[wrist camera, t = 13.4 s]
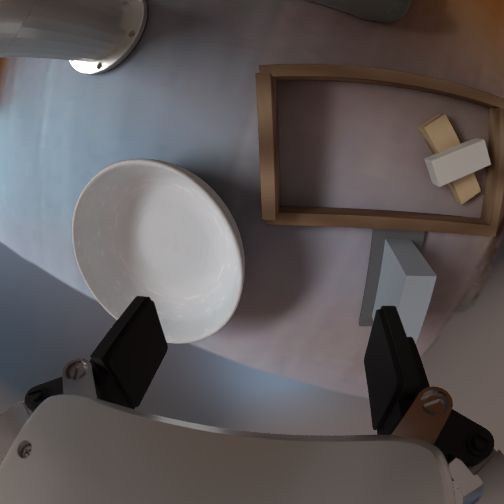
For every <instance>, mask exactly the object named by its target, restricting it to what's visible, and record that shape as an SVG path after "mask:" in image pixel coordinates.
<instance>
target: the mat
mask: <svg viewBox="0 0 504 504" xmlns="http://www.w3.org/2000/svg"><path fill="white" fill-rule="evenodd" d="M424 235H425V231H413V230H395V229H376V228H373V233H372V242H371V251H370V258H369V266H368V272H367V279H366V285H365V291H364V297H363V303H362V308H361V314H360V319H359V326H373V318H372V314H373V309H374V304H375V299H376V294H377V289H378V284H379V278H380V272H381V266H382V260H383V253H384V246H385V239H401V240H411V241H412V242H413V244H414V245H415V246H416V248H417V249H418V250H419V252H420V253H421V252H422V247H423V241H424Z"/></svg>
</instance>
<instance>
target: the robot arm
mask: <svg viewBox="0 0 504 504" xmlns="http://www.w3.org/2000/svg"><path fill="white" fill-rule="evenodd" d="M147 14H148V12H147V4H146V1H145V0H0V57H29V58H49V59H62V60H69V62H70V64H71V66H72V67H73V68H74V69H75V70H77V71H78V72H80V73H83V74H91V75H92V74H100V73H103V72H106V71H108V70H110V69H112V68H114V67H115V66H116V65H118V64H119V63H121V62H122V61H123V60H124V59H125V58H126V57H127V56H128V55H129V53H130V52H131V51H132V50H133V49H134V47H135V46H136V44H137V43H138V41H139V39H140V37H141V35H142V33H143V31H144V28H145V25H146V21H147ZM167 348H168V347H167V342H166V339H165V336H164V333H163V330H162V326H161V323H160V320H159V317H158V313H157V310H156V307H155V303H154V301H152V300H151V299H150V297H145V296H136V297H135V298H134V300H133V301H132V302H131V303H130V305H129V306H128V307H127V308H126V310H125V311H124V312H123V314H122V315H121V316H120V317H119V319H118V320H117V321H116V323H115V324H114V325H113V327H112V328H111V329H110V330H109V332H108V333H107V334H106V336H105V337H104V339H103V340H102V341H101V342H100V344H99V345H98V346H97V348H96V349H95V350H94V352H93V353H92V355H91V358H92V359H91V360H90V361H88V360H86V359H82V358H79V359H75V360H72V361H70V362H69V363H68V364H67V365H66V366H65V367H64V369H63V373H62V377H60V378H57V379H54V380H52V381H49V382H46V383H43V384H40V385H38V386H35V387H33V388H31V389H30V390H29V391H28V393H27V394H26V396H25V402H23V401H22V400H21V401H20V402H18V403H16V404H15V405H13V406H12V407H10V408H9V409H7V410H6V411H4V412H3V413H1V414H0V454H1V457H2V460H3V462H2V464H1V466H0V504H456V501H455V492H454V486H453V481H455V482H456V483H457V484H458V486H459V487H458V490H459V491H460V492H461V494H462V496H463V504H504V454H503V453H502V452H501V451H500V450H498V451H496V450H495V449H494V439H493V436H492V434H491V433H490V432H489V431H488V430H487V429H485V428H484V427H482V426H480V425H479V424H477V423H475V422H473V421H472V420H470V419H468V418H466V417H465V416H463V415H461V414H460V413H458V412H456V411H454V410H453V409H452V407H453V402H452V398H451V396H450V395H449V394H448V392H447V391H445V390H444V389H442V388H439V387H430V386H429V383H428V380H427V377H426V374H425V370H424V367H423V364H422V361H421V358H420V355H419V353H418V350H417V347H416V344H415V341H414V339H413V338H412V337H407V336H406V333H405V330H404V327H403V324H402V322H401V319H400V316H399V314H398V311H397V308H396V306H381V308H380V309H377V310H376V313H375V317H374V321H373V326H372V330H371V334H370V338H369V342H368V346H367V349H366V353H365V358H364V365H365V371H366V378H367V385H368V392H369V400H370V408H371V417H372V426H373V429H374V430H377V434H378V435H349V436H348V435H346V436H314V435H313V436H312V435H310V436H309V435H285V434H270V433H258V432H249V431H240V430H232V429H225V428H218V427H211V426H205V425H200V424H195V423H189V422H184V421H179V420H175V419H170V418H166V417H161V416H157V415H153V414H149V413H146V412H141V411H138V410H135V407H137V406H139V405H140V403H141V401H142V399H143V397H144V395H145V393H146V391H147V389H148V387H149V385H150V383H151V381H152V379H153V377H154V375H155V373H156V371H157V369H158V368H159V366H160V364H161V362H162V360H163V358H164V356H165V354H166V352H167Z"/></svg>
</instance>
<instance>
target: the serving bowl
mask: <svg viewBox="0 0 504 504" xmlns="http://www.w3.org/2000/svg"><path fill="white" fill-rule="evenodd" d="M72 241H73V248H74V253H75V257H76V261H77V264H78V267H79V269H80V272H81V274H82V276H83V278H84V280H85V282H86V284H87V286H88V287H89V289H90V291H91V292H92V294H93V295H94V296H95V298H96V299H97V300H98V302H99V303H100V304H101V305H102V306H103V307H104V309H105V310H106V311H107V312H108V313H110V315H112V316H113V317H114V318H115V319H116V320H118V319H119V317H120V316H121V315H122V314H123V312H124V311H125V310H126V308H127V307H128V306H129V305H130V303H131V302H132V301H133V300H134V298H135V297H136V296H145V297H150V299H151V300H152V301H154V303H155V307H156V310H157V313H158V317H159V320H160V323H161V326H162V330H163V333H164V336H165V339H166V342H167V343H190V342H196V341H199V340H202V339H205V338H207V337H209V336H211V335H213V334H214V333H216V332H217V331H219V330H220V329H221V328H223V327H224V326H225V325H226V324H227V322H228V321H229V320H230V319H231V317H232V316H233V314H234V312H235V311H236V309H237V307H238V304H239V302H240V299H241V295H242V291H243V286H244V278H245V255H244V248H243V243H242V239H241V236H240V233H239V230H238V227H237V225H236V222H235V220H234V218H233V216H232V214H231V213H230V211H229V209H228V208H227V206H226V205H225V203H224V202H223V201H222V199H221V198H220V197H219V196H218V194H217V193H216V192H215V191H214V190H213V189H212V188H211V187H210V186H209V185H208V184H207V183H205V182H204V181H203V180H202V179H200V178H199V177H198V176H196V175H195V174H193V173H191V172H190V171H188V170H186V169H184V168H182V167H180V166H177V165H174V164H172V163H168V162H164V161H160V160H153V159H130V160H124V161H120V162H117V163H114V164H112V165H110V166H108V167H106V168H104V169H103V170H101V171H100V172H98V173H97V174H96V175H95V176H94V177H93V178H92V179H91V180H90V181H89V182H88V183H87V185H86V186H85V188H84V189H83V191H82V192H81V194H80V196H79V198H78V201H77V204H76V207H75V210H74V215H73V222H72Z"/></svg>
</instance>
